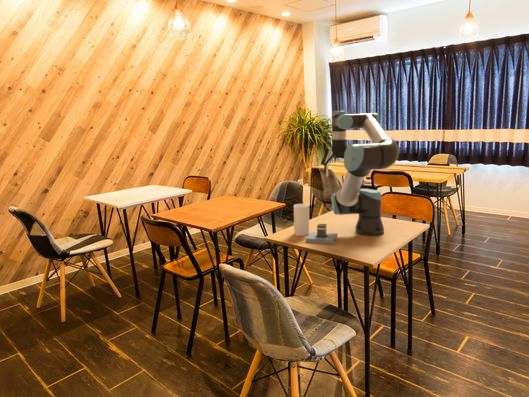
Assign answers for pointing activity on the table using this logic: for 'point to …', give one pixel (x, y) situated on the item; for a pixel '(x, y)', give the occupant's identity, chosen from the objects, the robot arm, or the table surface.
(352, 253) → the table surface
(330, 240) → the outlet plate
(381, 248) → the table surface
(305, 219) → the cup
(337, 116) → the robot arm
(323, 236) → the charger
